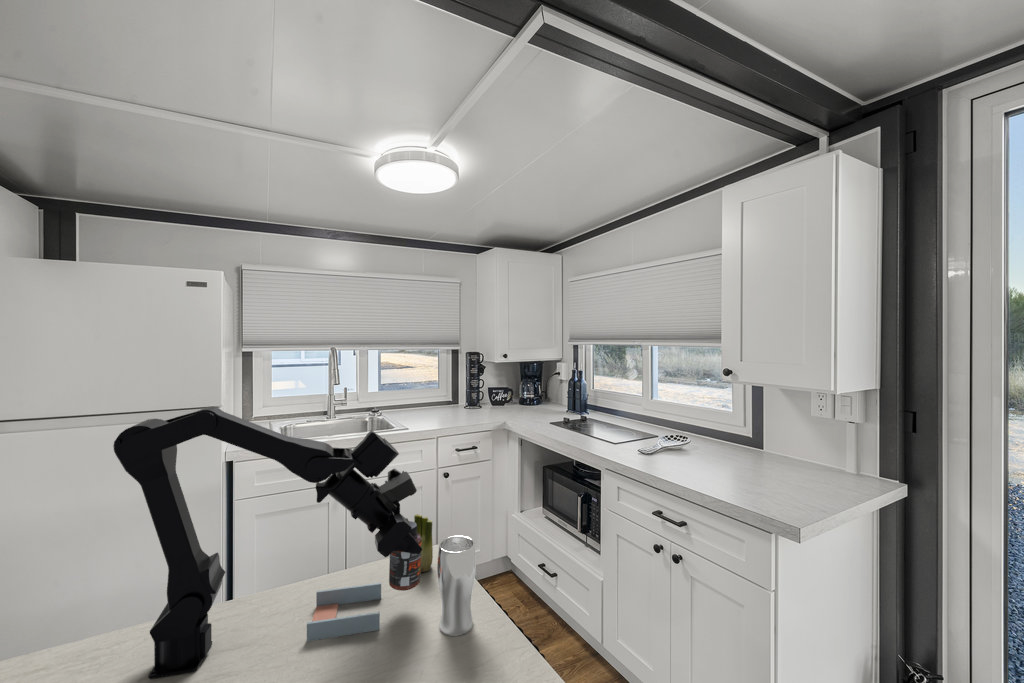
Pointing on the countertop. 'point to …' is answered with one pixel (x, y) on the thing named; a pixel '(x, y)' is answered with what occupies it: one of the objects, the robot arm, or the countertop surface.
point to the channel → (331, 626)
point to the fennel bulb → (425, 541)
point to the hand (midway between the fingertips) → (416, 544)
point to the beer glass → (456, 583)
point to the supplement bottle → (405, 566)
